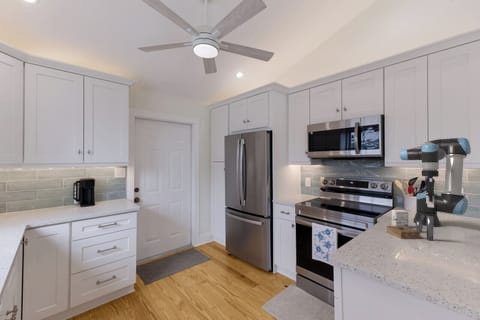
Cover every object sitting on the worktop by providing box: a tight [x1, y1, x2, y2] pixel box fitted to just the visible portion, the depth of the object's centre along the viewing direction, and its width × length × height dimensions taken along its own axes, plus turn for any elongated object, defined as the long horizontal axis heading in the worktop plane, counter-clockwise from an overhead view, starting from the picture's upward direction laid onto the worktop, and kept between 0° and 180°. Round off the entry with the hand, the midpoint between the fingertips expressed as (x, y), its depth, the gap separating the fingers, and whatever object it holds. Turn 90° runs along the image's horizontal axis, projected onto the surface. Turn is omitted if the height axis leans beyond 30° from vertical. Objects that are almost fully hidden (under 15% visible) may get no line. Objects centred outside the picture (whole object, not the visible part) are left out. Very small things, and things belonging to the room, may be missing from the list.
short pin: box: [415, 221, 423, 234], centre depth 139 cm, size 3×3×7 cm
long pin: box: [426, 216, 434, 242], centre depth 125 cm, size 3×3×14 cm
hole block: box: [386, 225, 421, 240], centre depth 132 cm, size 12×12×4 cm
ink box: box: [391, 209, 409, 227], centre depth 149 cm, size 9×5×12 cm, turn 84°
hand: (429, 205), depth 124 cm, fingers open, 13 cm apart
